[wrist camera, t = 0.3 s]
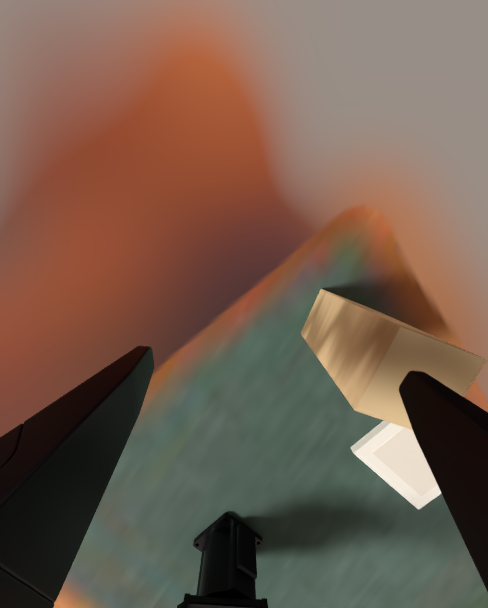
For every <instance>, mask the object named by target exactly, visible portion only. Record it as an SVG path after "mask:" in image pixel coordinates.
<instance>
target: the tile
mask: <svg viewBox="0 0 488 608" xmlns="http://www.w3.org/2000/svg"><path fill="white" fill-rule="evenodd" d="M350 448H351V450H352V452H353V453H354V454H355V455H356V456H357V457H358V458H359V459H361V460H362V461H363V462H364V463H365V464H366V465H367V466H369V467H370V468H371V469H372V470H373V471H374V472H376V473H377V474H378V475H379V476H380V477H381V478H382V479H384V480H385V481H386V482H387V483H388V484H389V485H391V486H392V487H393V488H394V489H395V490H396V491H397V492H399V493H400V494H401V495H402V496H403V497H404V498H405V499H407V500H408V501H409V502H410V503H411V504H412V505H414V506H415V507H416V508H417V509H418V510H419V509H420V508H422V507H423V506H425V505H426V504H427V503H429V502H430V501H432V500H433V499H434V498H436V497H437V496H439V495H440V494H441V491H440V489H439V487H438V484H437V482H436V480H435V478H434V476H433V474H432V472H431V469H430V467H429V465H428V463H427V461H426V459H425V457H424V454H423V452H422V450H421V448H420V446H419V444H418V441H417V439H416V437H415V434H414V432H413V430H410V429H408V428H405V427H402V426H399V425H396V424H393V423H390V422H387V421H384V420H383V421H382V422H381V423H380V424H379V425H377V426H376V427H375V428H374V429H372V430H371V431H370V432H369V433H367V434H366V435H365V436H364V437H363V438H361V439H360V440H359V441H358V442H356V443H355V444H354V445H353V446H352V447H350Z"/></svg>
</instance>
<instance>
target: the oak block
mask: <svg viewBox="0 0 488 608" xmlns="http://www.w3.org/2000/svg"><path fill="white" fill-rule="evenodd" d="M301 335H302V336H303V338H304V339H305V340H306V342H307V343H308V345H309V346H310V348H311V349H312V350H313V352H314V353H315V355H316V356H317V357H318V359H319V360H320V362H321V363H322V365H323V366H324V367H325V369H326V370H327V372H328V373H329V375H330V376H331V377H332V379H333V380H334V382H335V383H336V384H337V386H338V387H339V389H340V390H341V392H342V393H343V394H344V396H345V397H346V399H347V400H348V402H349V403H350V404H351V406H352V407H353V409H354V410H355V411H358V412H361V413H364V414H367V415H370V416H373V417H375V418H378V419H381V420H384V421H387V422H390V423H393V424H396V425H399V426H402V427H405V428H408V429H410V430H413V429H412V427H411V424H410V421H409V418H408V415H407V413H406V410H405V407H404V404H403V402H402V399H401V396H400V393H399V386H400V384H401V382H402V381H403V379H404V378H405V376H406V375H407V373H408V372H409V371H412V370H414V371H423V372H425V373H427V374H428V375H430V376H431V377H433V378H435V379H436V380H438V381H439V382H441V383H442V384H444V385H445V386H447V387H449V388H450V389H452V390H453V391H455V392H456V393H458V394H459V395H461V396H464V395H465V393H466V392H467V390H468V389H469V387H470V386H471V384H472V383H473V381H474V380H475V378H476V377H477V375H478V373H479V372H480V370H481V369H482V367H483V366H484V364H485V363H486V361H487V360H486V359H484V358H482V357H480V356H478V355H475V354H473V353H471V352H469V351H466V350H464V349H462V348H460V347H457V346H455V345H453V344H451V343H448V342H446V341H444V340H441V339H439V338H437V337H435V336H432V335H430V334H428V333H426V332H423V331H421V330H419V329H417V328H414V327H412V326H410V325H408V324H405V323H403V322H401V321H399V320H396V319H394V318H392V317H390V316H387V315H385V314H383V313H381V312H378V311H376V310H374V309H372V308H369V307H367V306H365V305H362V304H359V303H357V302H354V301H352V300H349V299H346V298H344V297H341V296H339V295H336V294H333V293H331V292H328V291H326V290H323V289H321V290H320V292H319V294H318V296H317V299H316V301H315V303H314V305H313V307H312V310H311V312H310V314H309V316H308V318H307V321H306V323H305V325H304V327H303V329H302V331H301Z"/></svg>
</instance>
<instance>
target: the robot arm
mask: <svg viewBox="0 0 488 608" xmlns="http://www.w3.org/2000/svg"><path fill="white" fill-rule="evenodd" d="M153 369H154V360H153V352H152V348H151V347H150V346H141V345H140V346H137V347H135V348H134V349H133V350H131V351H129V352H128V353H126V354H125V355H123V356H122V357H120V358H119V359H117V360H116V361H114V362H113V363H111V364H110V365H108V366H107V367H105V368H104V369H102V370H101V371H99V372H98V373H96V374H95V375H93V376H92V377H91V378H89V379H87V380H86V381H84V382H83V383H81V384H80V385H78V386H77V387H75V388H74V389H72V390H71V391H69V392H68V393H66V394H65V395H63V396H62V397H60V398H59V399H57V400H56V401H54V402H53V403H51V404H50V405H48V406H47V407H45V408H44V409H42V410H41V411H39V412H38V413H36V414H35V415H33V416H32V417H31V418H29V419H28V420H26V421H25V422H24V424H20V425H18V426H17V427H15V428H14V429H12V430H11V431H9V432H8V433H6V434H5V435H3V436H1V437H0V608H53V606H54V602H55V601H56V599H57V597H58V595H59V592H60V590H61V588H62V586H63V583H64V581H65V579H66V577H67V575H68V572H69V570H70V568H71V566H72V563H73V561H74V559H75V557H76V554H77V552H78V550H79V548H80V545H81V543H82V541H83V539H84V536H85V534H86V532H87V530H88V528H89V525H90V523H91V521H92V519H93V516H94V514H95V512H96V510H97V507H98V505H99V503H100V501H101V498H102V496H103V494H104V492H105V489H106V487H107V485H108V483H109V481H110V478H111V476H112V474H113V472H114V469H115V467H116V465H117V463H118V460H119V458H120V456H121V454H122V451H123V449H124V447H125V445H126V442H127V440H128V438H129V436H130V434H131V431H132V429H133V427H134V425H135V422H136V420H137V418H138V415H139V413H140V410H141V407H142V404H143V401H144V398H145V395H146V392H147V389H148V385H149V382H150V379H151V376H152V373H153ZM399 393H400V396H401V399H402V402H403V404H404V407H405V410H406V413H407V415H408V418H409V421H410V424H411V427H412V429H413V432H414V434H415V437H416V439H417V441H418V444H419V446H420V448H421V450H422V452H423V454H424V457H425V459H426V461H427V463H428V465H429V467H430V469H431V472H432V474H433V476H434V478H435V480H436V482H437V484H438V487H439V489H440V491H441V493H442V495H443V497H444V499H445V501H446V504H447V506H448V508H449V510H450V512H451V514H452V516H453V519H454V521H455V523H456V525H457V527H458V529H459V531H460V534H461V536H462V538H463V540H464V542H465V544H466V546H467V549H468V551H469V553H470V555H471V557H472V559H473V561H474V564H475V566H476V568H477V570H478V572H479V574H480V576H481V579H482V581H483V583H484V585H485V587H486V589H487V591H488V412H486V411H484V410H483V409H481V408H480V407H478V406H477V405H475V404H474V403H472V402H470V401H469V400H467V399H466V398H464V397H463V396H461V395H459V394H458V393H456V392H455V391H453V390H452V389H450V388H449V387H447V386H445V385H444V384H442V383H441V382H439V381H438V380H436V379H435V378H433V377H431V376H430V375H428V374H427V373H425V372H423V371H414V370H412V371H409V372H408V373H407V375H406V376H405V378H404V379H403V381H402V382H401V384H400V386H399ZM261 545H262V538H261V537H260V536H259V535H257V534H256V533H254V532H253V531H252V530H250V529H249V528H248V527H246V526H245V525H243V524H242V523H241V522H239V521H238V520H236V519H235V518H234V517H232V516H231V515H229V514H224V515H223V516H221V517H220V518H219V519H218V520H217V521H215V522H214V523H213V524H212V525H211V526H210V527H208V528H207V529H206V530H205V531H204V532H203V533H201V534H200V535H199V536H198V537H197V538H195V539H194V543H193V546H194V547H195V548H197V549H198V550H200V551H201V552H202V557H201V565H200V572H199V580H198V587H197V594H196V595H190V594H187V593H185V597H184V602H183V603H181V604H179V605H178V606H177V608H268V604H267V599H265V598H262V600H260V599H256V592H255V580H256V578H257V568H256V549H257V548H258V547H260V546H261Z"/></svg>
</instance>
